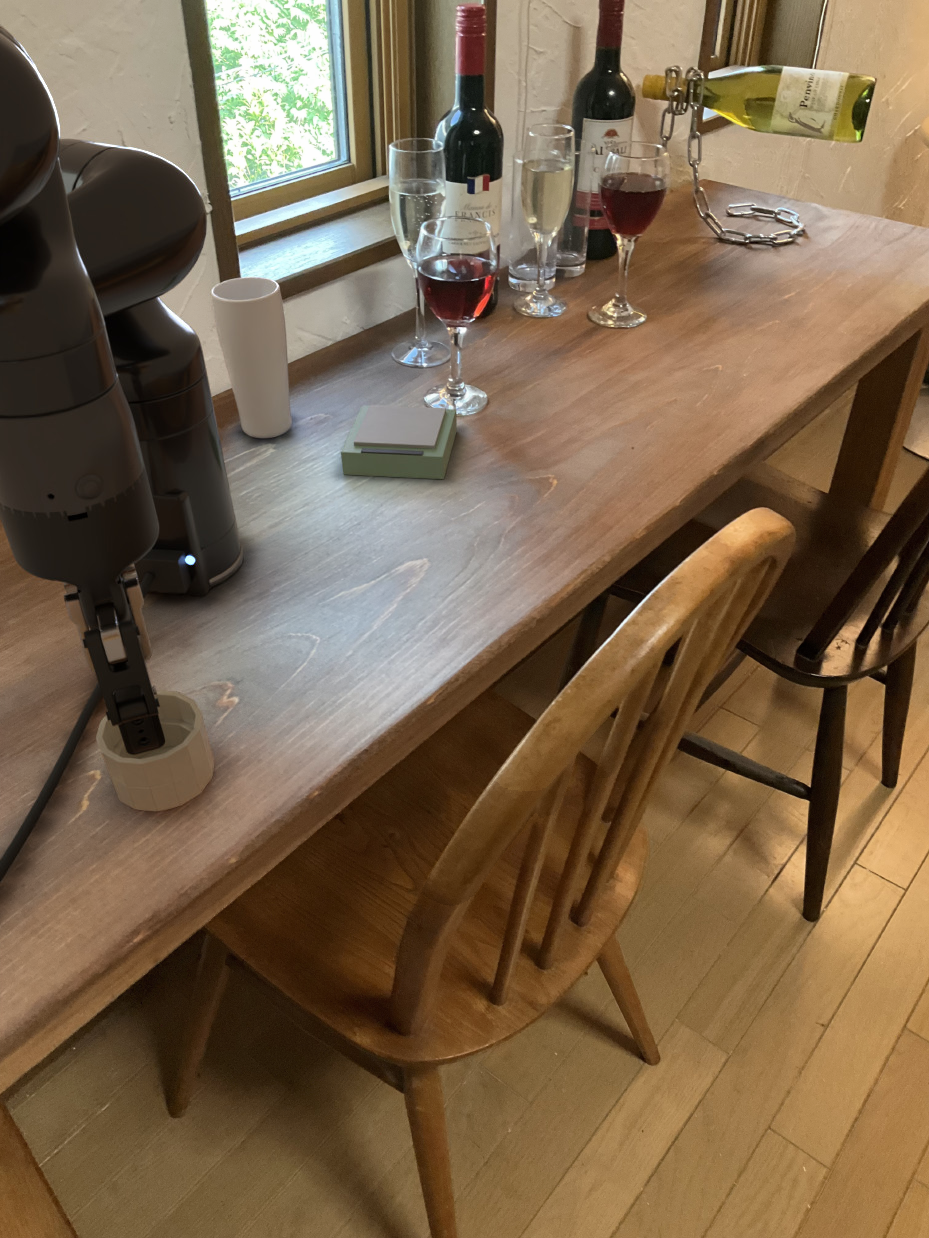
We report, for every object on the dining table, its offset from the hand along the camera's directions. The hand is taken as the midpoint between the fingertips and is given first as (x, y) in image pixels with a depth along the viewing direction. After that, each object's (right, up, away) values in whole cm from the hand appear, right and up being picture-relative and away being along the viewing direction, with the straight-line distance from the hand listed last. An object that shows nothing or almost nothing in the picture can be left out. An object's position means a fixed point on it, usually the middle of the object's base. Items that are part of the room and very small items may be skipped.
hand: (136, 701), depth 59 cm
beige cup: (0, -6, +5) cm, 7 cm away
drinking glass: (-1, +25, +43) cm, 50 cm away
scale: (+14, +22, +39) cm, 47 cm away
